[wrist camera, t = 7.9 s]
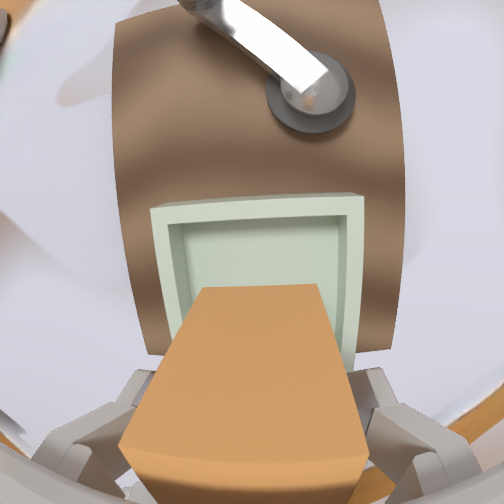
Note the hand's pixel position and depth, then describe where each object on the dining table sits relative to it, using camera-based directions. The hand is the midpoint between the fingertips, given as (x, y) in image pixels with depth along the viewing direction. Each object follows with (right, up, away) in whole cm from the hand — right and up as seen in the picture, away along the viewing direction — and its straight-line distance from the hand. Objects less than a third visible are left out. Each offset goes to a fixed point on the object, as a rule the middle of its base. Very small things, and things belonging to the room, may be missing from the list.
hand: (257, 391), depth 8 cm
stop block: (0, +1, +3) cm, 3 cm away
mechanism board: (0, +8, +8) cm, 12 cm away
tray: (0, +2, +8) cm, 9 cm away
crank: (0, +14, +4) cm, 15 cm away
